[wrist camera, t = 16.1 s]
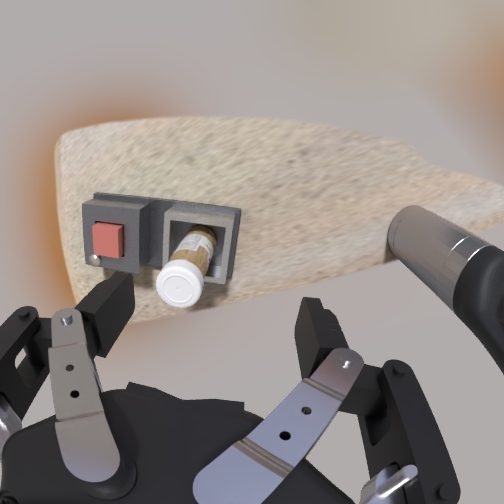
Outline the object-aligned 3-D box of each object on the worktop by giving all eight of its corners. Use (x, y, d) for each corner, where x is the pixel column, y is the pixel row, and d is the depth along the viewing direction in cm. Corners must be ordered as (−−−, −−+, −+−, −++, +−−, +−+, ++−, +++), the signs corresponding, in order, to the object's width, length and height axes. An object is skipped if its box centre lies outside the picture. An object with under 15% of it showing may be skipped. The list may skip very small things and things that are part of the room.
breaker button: (132, 218, 36) (117, 229, 31) (132, 244, 37) (118, 258, 32) (109, 215, 35) (92, 225, 31) (109, 241, 37) (93, 254, 32)
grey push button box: (241, 208, 37) (239, 219, 31) (231, 274, 40) (229, 294, 35) (96, 192, 35) (77, 200, 30) (98, 253, 39) (81, 268, 34)
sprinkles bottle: (218, 255, 38) (203, 310, 26) (186, 256, 38) (159, 309, 26) (215, 223, 36) (198, 267, 24) (182, 225, 36) (150, 267, 24)
